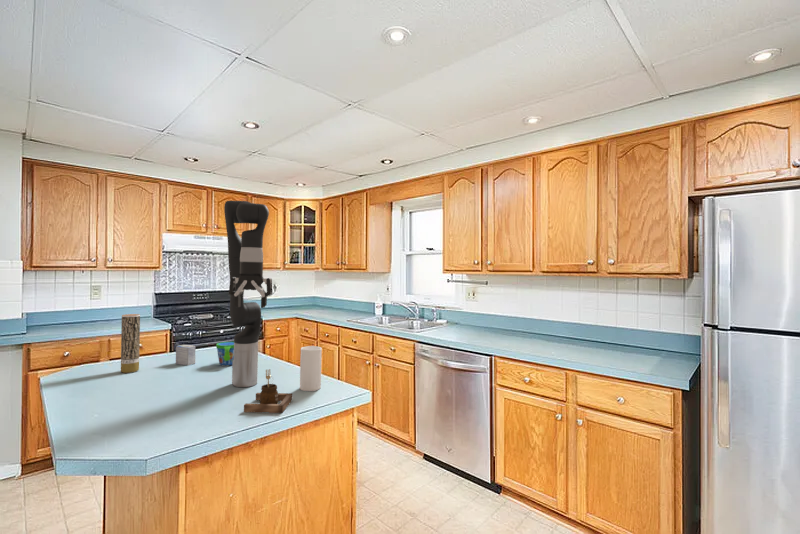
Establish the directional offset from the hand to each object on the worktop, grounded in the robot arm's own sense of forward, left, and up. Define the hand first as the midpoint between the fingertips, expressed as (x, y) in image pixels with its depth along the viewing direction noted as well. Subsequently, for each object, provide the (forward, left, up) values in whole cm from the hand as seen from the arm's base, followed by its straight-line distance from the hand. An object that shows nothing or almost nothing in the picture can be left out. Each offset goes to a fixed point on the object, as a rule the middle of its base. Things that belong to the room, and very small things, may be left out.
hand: (250, 307), depth 141 cm
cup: (+2, +27, -34) cm, 44 cm away
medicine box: (-72, +16, -34) cm, 81 cm away
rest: (+6, +4, -34) cm, 35 cm away
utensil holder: (+6, +4, -34) cm, 35 cm away
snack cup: (-56, +28, -34) cm, 71 cm away
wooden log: (-77, -6, -34) cm, 84 cm away
